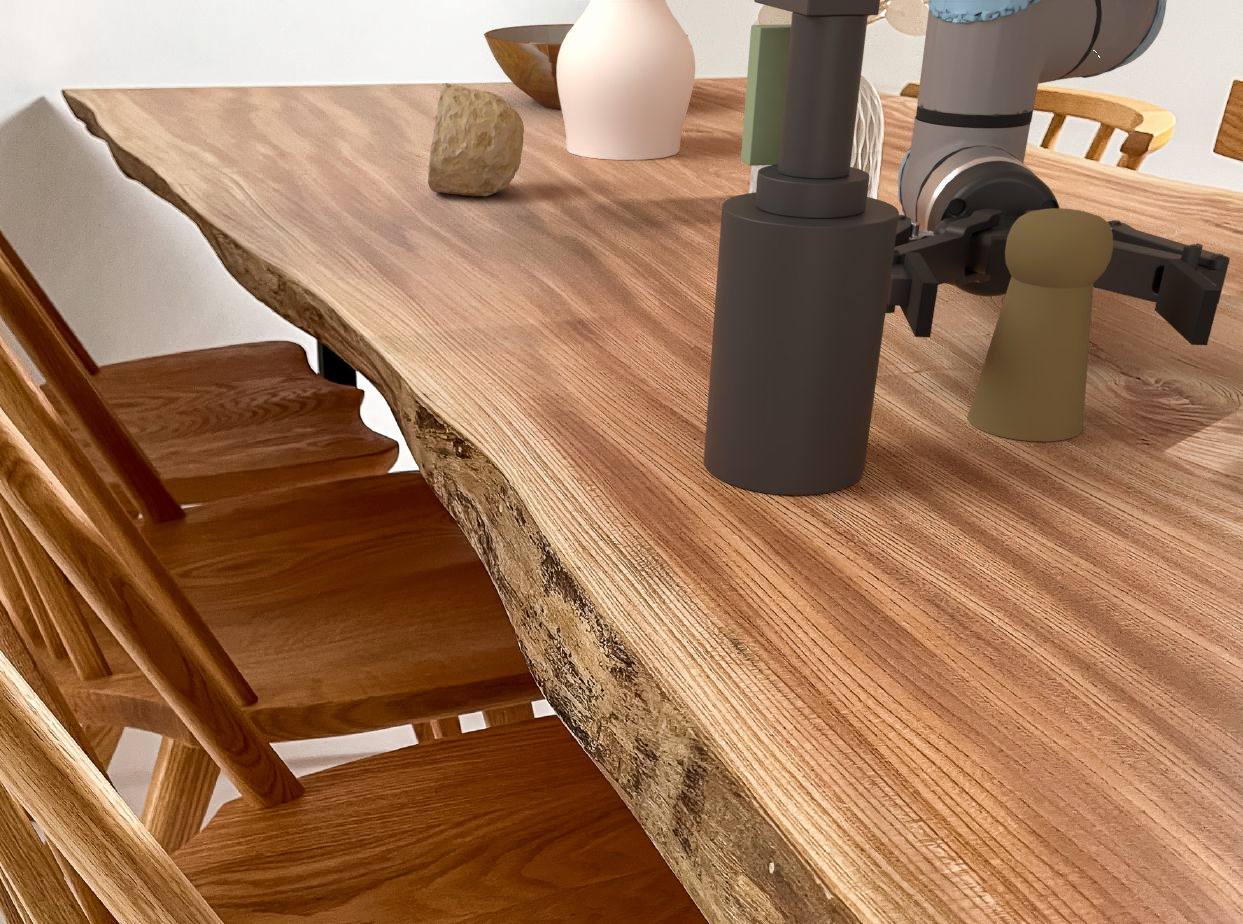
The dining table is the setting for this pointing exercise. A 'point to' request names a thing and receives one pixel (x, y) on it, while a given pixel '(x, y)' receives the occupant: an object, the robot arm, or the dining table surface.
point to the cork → (1043, 327)
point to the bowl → (530, 58)
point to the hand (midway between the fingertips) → (1065, 314)
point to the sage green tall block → (765, 94)
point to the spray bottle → (802, 281)
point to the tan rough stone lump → (474, 143)
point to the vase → (625, 81)
